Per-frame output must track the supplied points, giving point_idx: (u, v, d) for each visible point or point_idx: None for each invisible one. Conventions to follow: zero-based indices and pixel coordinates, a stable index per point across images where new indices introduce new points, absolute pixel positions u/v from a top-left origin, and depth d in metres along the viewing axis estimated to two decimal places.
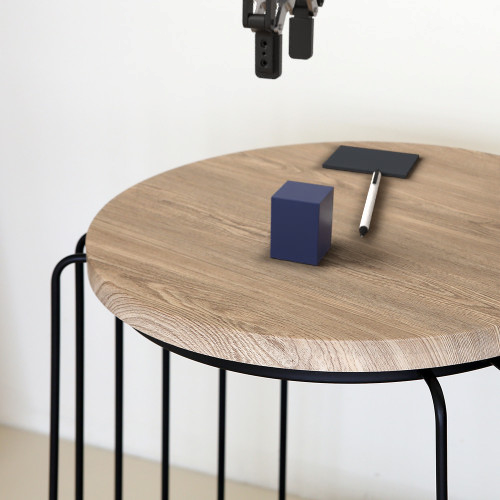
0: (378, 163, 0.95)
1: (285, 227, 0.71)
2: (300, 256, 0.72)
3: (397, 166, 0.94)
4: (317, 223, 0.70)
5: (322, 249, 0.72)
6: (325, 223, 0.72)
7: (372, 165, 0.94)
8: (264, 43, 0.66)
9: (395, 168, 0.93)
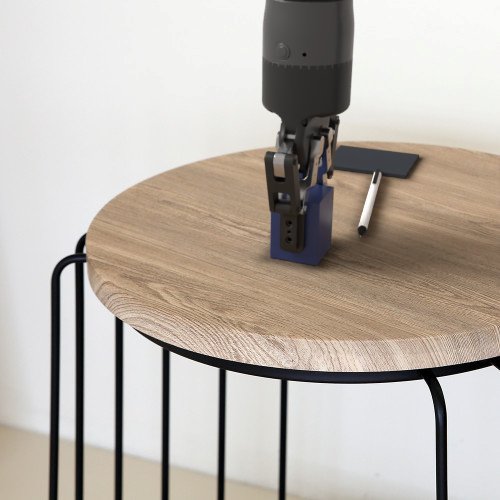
0: (378, 163, 0.95)
1: None
2: (300, 256, 0.72)
3: (397, 166, 0.94)
4: (317, 223, 0.70)
5: (322, 249, 0.72)
6: (325, 223, 0.72)
7: (372, 165, 0.94)
8: (289, 222, 0.70)
9: (395, 168, 0.93)
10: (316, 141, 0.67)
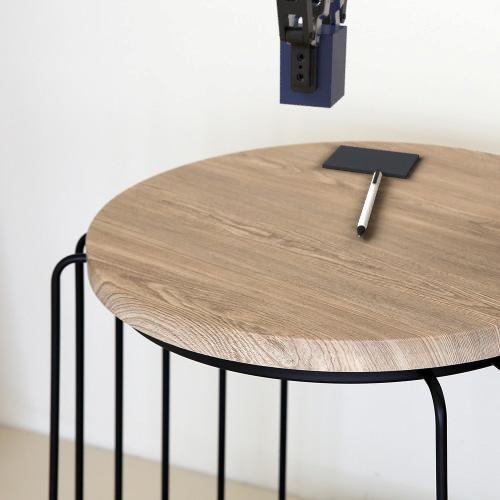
0: (378, 163, 0.95)
1: None
2: (312, 99, 0.67)
3: (397, 166, 0.94)
4: (330, 58, 0.65)
5: (335, 92, 0.67)
6: (338, 63, 0.67)
7: (372, 165, 0.94)
8: (300, 56, 0.65)
9: (395, 168, 0.93)
10: None
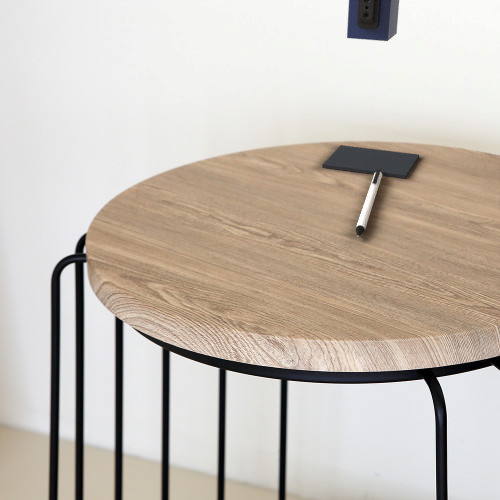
0: (378, 163, 0.95)
1: None
2: (373, 33, 0.85)
3: (397, 166, 0.94)
4: (389, 1, 0.83)
5: (391, 29, 0.85)
6: (394, 6, 0.85)
7: (372, 165, 0.94)
8: None
9: (395, 168, 0.93)
10: None
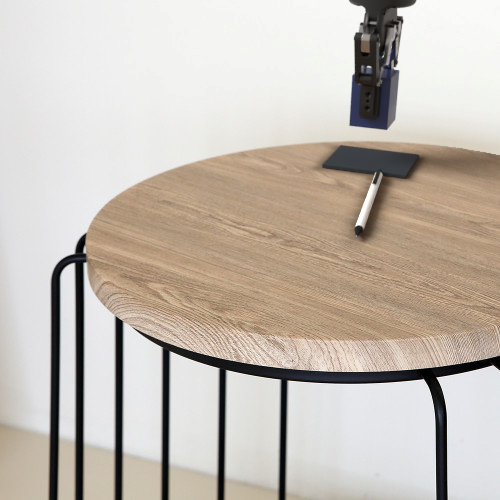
0: (378, 163, 0.95)
1: None
2: (373, 123, 0.92)
3: (397, 166, 0.94)
4: (388, 95, 0.90)
5: (390, 118, 0.93)
6: (393, 97, 0.92)
7: (372, 165, 0.94)
8: (367, 93, 0.90)
9: (395, 168, 0.93)
10: (391, 28, 0.88)
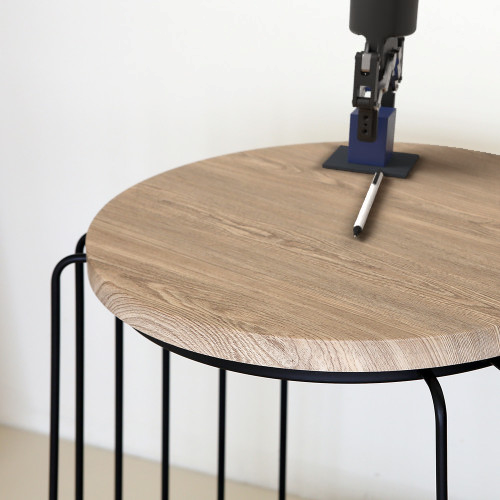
0: None
1: None
2: (371, 160, 0.94)
3: (397, 166, 0.94)
4: (385, 133, 0.92)
5: (387, 155, 0.95)
6: (390, 135, 0.94)
7: None
8: (365, 117, 0.89)
9: (395, 168, 0.93)
10: (391, 57, 0.89)
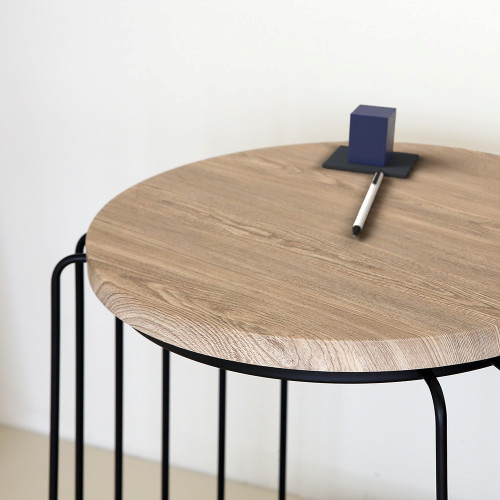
0: None
1: (360, 137, 0.93)
2: (371, 160, 0.94)
3: (397, 166, 0.94)
4: (385, 133, 0.92)
5: (387, 155, 0.95)
6: (390, 135, 0.94)
7: None
8: None
9: (395, 168, 0.93)
10: None
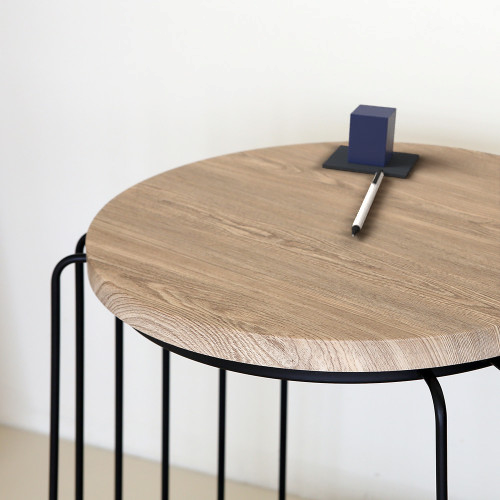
0: None
1: (360, 137, 0.93)
2: (371, 160, 0.94)
3: (397, 166, 0.94)
4: (385, 133, 0.92)
5: (387, 155, 0.95)
6: (390, 135, 0.94)
7: None
8: None
9: (395, 168, 0.93)
10: None
